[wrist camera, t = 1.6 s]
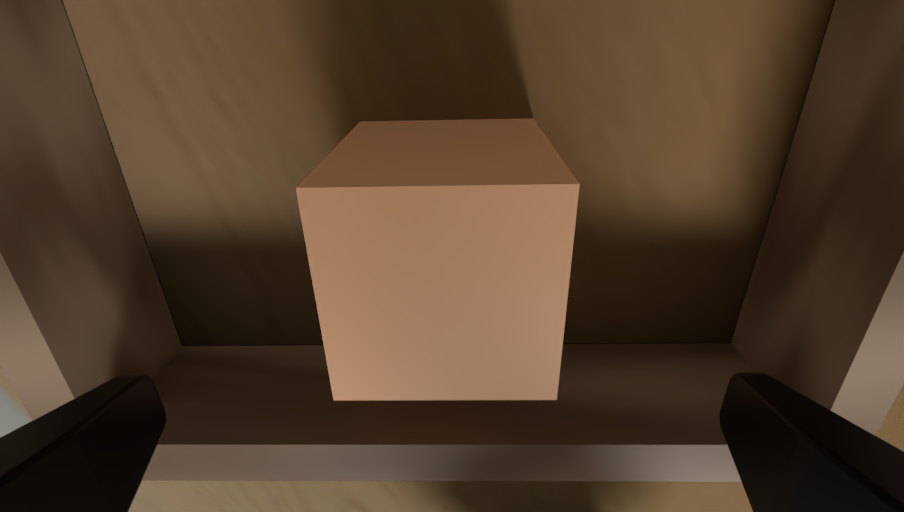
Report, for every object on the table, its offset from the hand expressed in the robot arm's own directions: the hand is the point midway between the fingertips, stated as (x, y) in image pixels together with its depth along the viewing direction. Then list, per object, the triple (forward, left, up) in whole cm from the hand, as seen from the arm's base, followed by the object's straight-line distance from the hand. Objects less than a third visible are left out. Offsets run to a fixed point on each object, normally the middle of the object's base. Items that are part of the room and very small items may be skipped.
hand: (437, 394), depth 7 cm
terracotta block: (0, 0, -8) cm, 8 cm away
